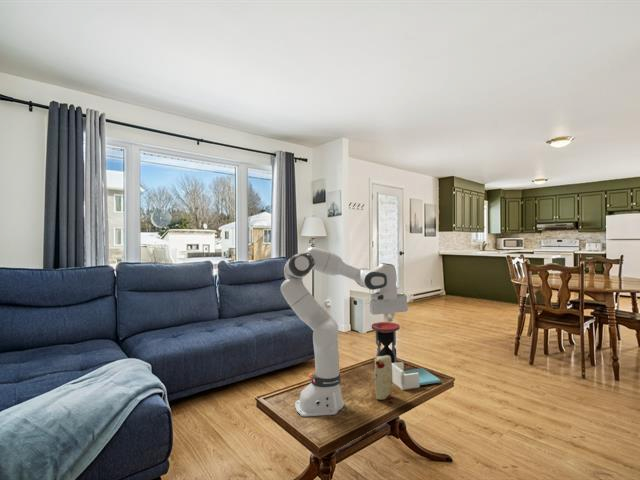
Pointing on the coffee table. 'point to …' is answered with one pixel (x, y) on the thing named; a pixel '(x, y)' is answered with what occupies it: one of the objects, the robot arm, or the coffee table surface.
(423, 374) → the box lid
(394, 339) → the hourglass
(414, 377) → the white open box
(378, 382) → the food model
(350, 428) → the coffee table surface
